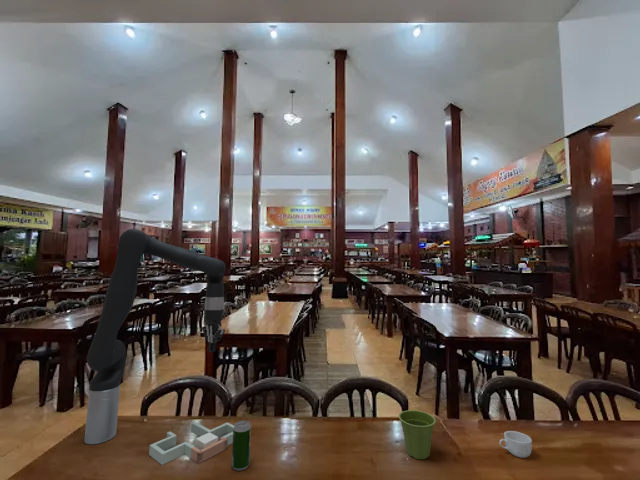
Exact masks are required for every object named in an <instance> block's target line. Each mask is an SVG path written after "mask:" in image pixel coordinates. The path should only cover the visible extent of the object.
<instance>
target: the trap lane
mask: <svg viewBox="0 0 640 480" xmlns="http://www.w3.org/2000/svg"><path fill="white" fill-rule="evenodd" d="M233 428H234V424H232V423H230V422H228V421H227V422H225V423H222V424H221V425H218V426H216V427H214V428H212V429H209V428H207V427H206V426H204V425H202V424H200V423H198V422H196V421H193V422H191V423H190V431H191V433H194V434H195V435H197V436H198V437H200V436H203V435H205V434H207V433H209V432H210V433H212V434H213V435H215V436H217V437H218V442H216V443H214V444H212V445H210V446H208V447H206V448H204V449H202V450H200V449H198V448H196V445H195V446H194V445H193V444H192V443H190V442H188V441H187V440H186V441H184V442H182V443H180V444H177V441H178V435H177V434H175V433H174V432H172V431H167V432H166V438H163V439H161V440H159V441H156V442H154V443H152V444H149V450H148V451H149V452H148V453H149V454H148V455H149V457H151V458H152V459H154V460H155V461H156V462H157V463H159V464H160V465H162V466H163V465H165V464H167V463H169V462H171V461H173V460H175V459H177V458H179V457H181V456H183V455H185V456H187V457H188V458H189V459H191V460H192V461H194V462H195V463H197V464H200V463H202V462H205V461H206V460H208V459H210V458H212V457H215V456H216V455H218V454H220V453H222V452H224V451H226V450H227V449H228V446H230V445H231V444H233Z"/></svg>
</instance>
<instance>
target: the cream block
mask: <svg viewBox="0 0 640 480" xmlns="http://www.w3.org/2000/svg"><path fill="white" fill-rule="evenodd" d="M216 442H218V437H217V436H215V435H213V434H212V433H210V432H209V433H207V434H205V435H203V436H198V437H197V438H195V447H196V448H198V449H200V450H202V449H204V448H206V447H208V446H210V445H212V444H214V443H216Z"/></svg>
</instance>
